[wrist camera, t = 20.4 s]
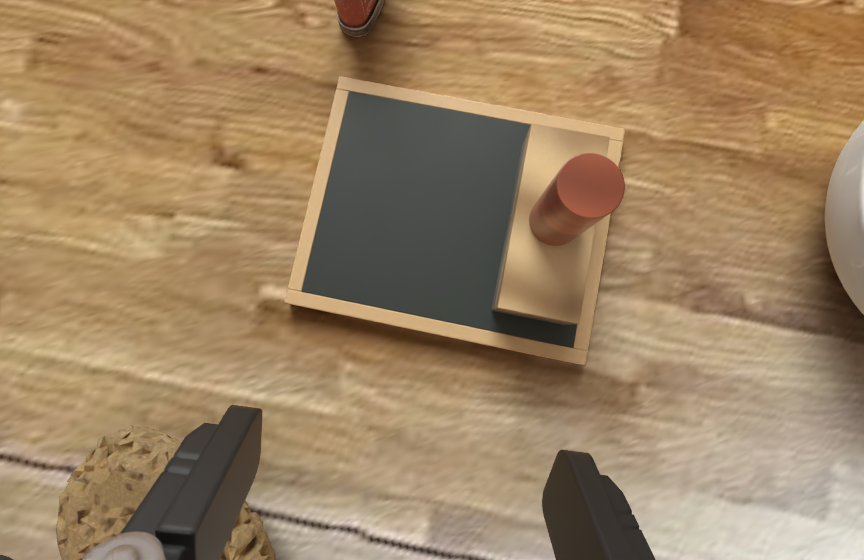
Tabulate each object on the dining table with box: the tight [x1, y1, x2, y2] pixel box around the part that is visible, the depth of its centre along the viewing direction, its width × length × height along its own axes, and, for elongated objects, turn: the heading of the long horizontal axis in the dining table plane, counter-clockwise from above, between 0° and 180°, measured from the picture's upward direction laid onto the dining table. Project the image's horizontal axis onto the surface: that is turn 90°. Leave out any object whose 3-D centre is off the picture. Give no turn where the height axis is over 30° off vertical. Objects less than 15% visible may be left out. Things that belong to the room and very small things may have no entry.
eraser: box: [492, 123, 625, 325], centre depth 26 cm, size 12×5×10 cm, turn 169°
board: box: [285, 76, 625, 366], centre depth 32 cm, size 21×17×1 cm
